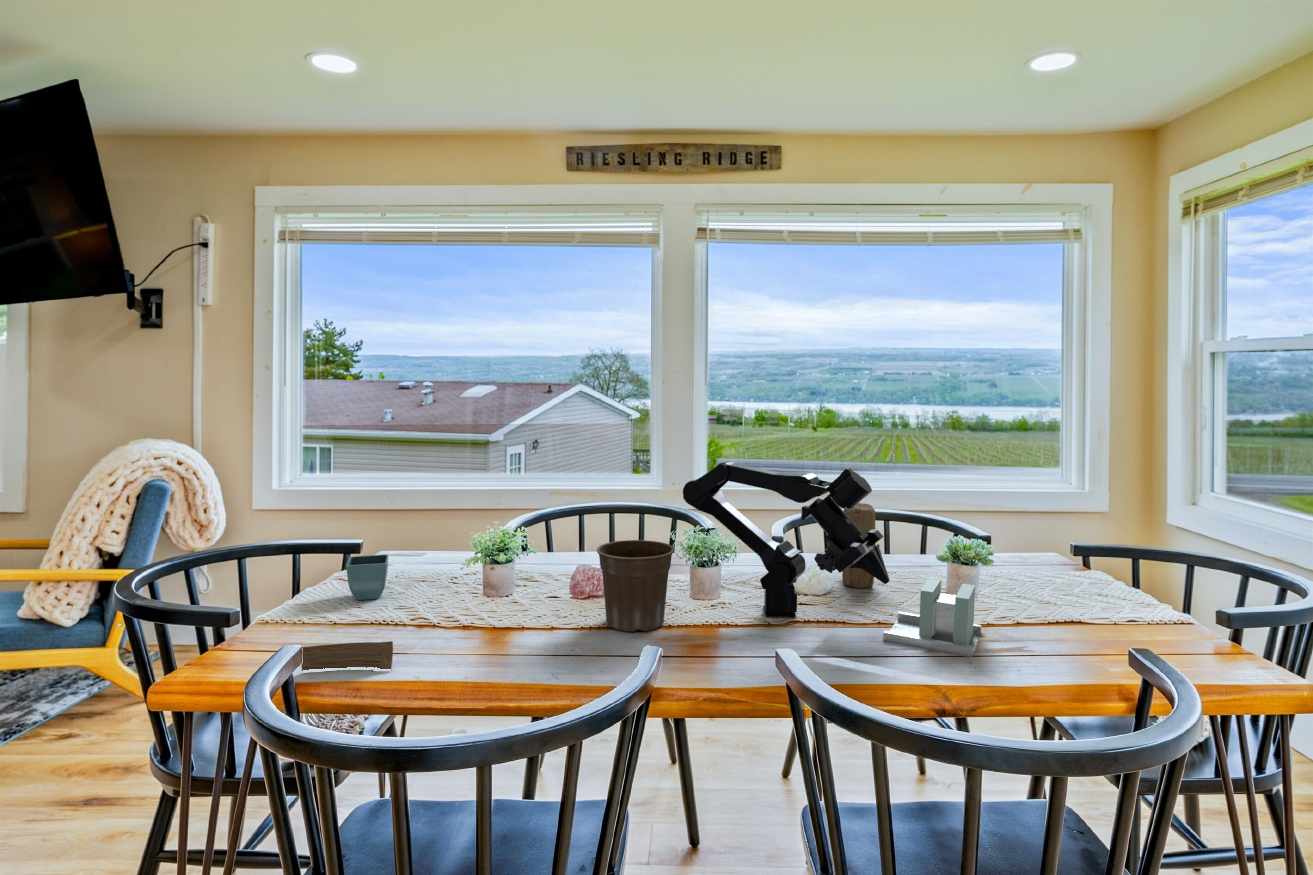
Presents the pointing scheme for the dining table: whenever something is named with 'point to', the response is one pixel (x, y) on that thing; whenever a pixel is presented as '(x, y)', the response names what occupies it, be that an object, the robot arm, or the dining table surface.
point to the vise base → (908, 634)
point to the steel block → (944, 617)
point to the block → (865, 523)
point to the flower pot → (367, 576)
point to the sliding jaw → (928, 607)
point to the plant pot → (635, 583)
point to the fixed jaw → (964, 615)
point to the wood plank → (348, 655)
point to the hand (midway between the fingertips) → (887, 582)
